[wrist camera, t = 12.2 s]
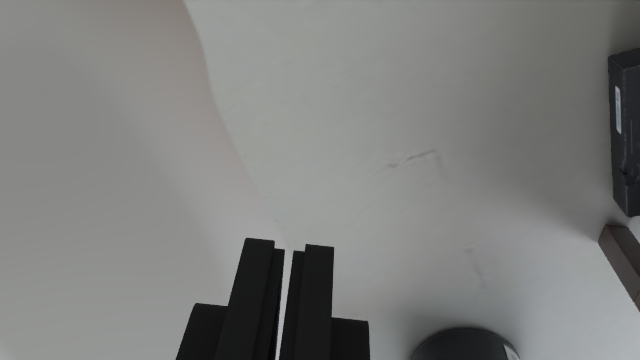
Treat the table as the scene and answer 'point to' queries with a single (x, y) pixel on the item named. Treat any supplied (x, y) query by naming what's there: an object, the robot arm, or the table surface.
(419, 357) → the ink bottle
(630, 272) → the drawer unit
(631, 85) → the disk drive
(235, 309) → the robot arm
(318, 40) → the table surface
